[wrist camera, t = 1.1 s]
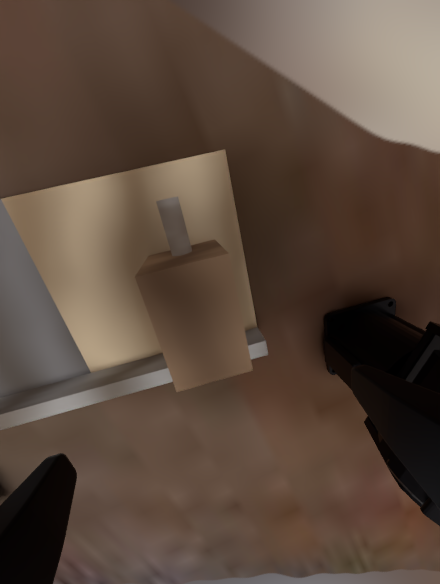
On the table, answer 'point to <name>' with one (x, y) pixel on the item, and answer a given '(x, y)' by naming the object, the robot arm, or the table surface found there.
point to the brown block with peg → (193, 306)
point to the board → (100, 283)
